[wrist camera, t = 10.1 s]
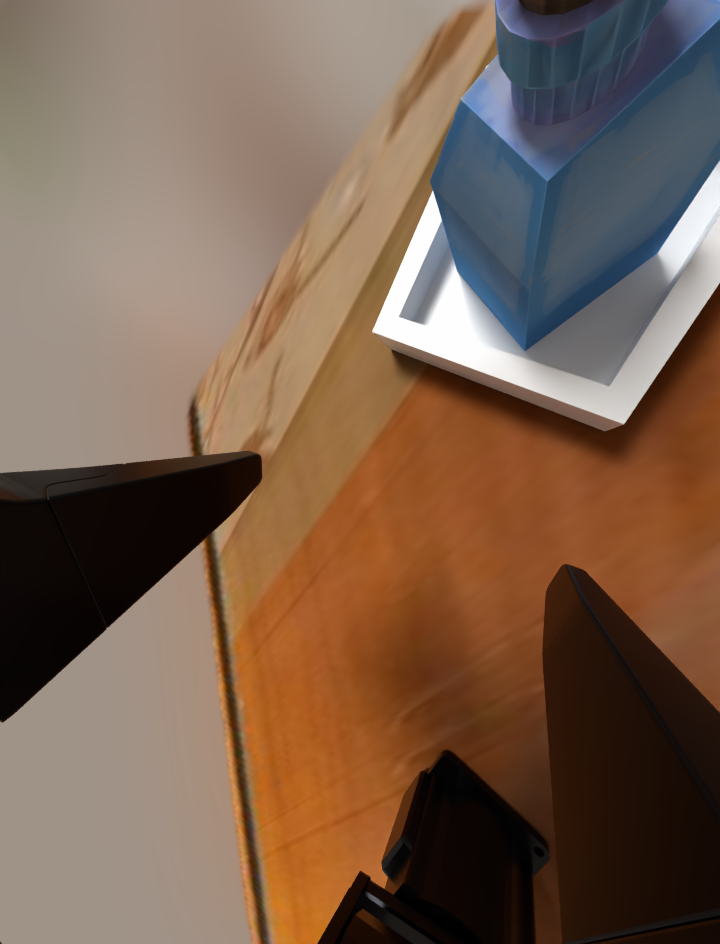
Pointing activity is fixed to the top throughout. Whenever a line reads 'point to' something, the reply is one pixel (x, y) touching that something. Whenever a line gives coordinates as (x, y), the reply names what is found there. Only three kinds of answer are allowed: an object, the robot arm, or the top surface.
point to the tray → (576, 340)
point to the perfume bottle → (578, 151)
